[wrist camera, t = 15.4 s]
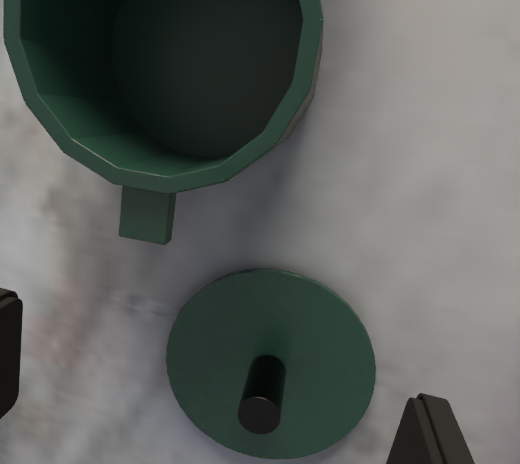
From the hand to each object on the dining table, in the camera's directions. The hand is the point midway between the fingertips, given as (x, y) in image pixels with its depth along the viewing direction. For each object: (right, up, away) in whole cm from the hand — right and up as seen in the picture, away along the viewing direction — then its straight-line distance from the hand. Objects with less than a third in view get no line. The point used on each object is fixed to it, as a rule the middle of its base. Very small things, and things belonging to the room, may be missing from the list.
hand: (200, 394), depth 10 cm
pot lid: (+2, -6, +21) cm, 22 cm away
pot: (-2, +15, +17) cm, 23 cm away
